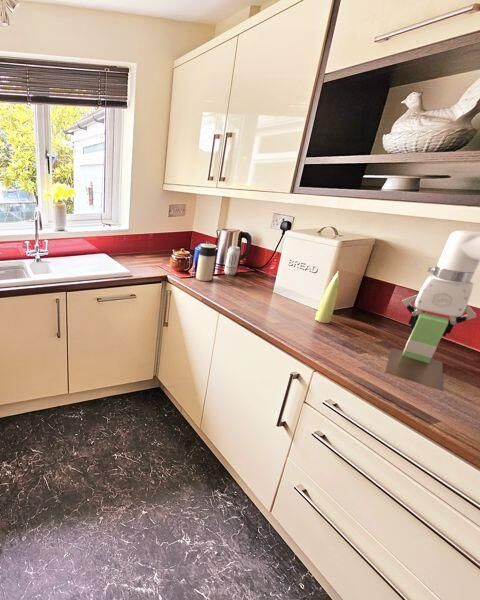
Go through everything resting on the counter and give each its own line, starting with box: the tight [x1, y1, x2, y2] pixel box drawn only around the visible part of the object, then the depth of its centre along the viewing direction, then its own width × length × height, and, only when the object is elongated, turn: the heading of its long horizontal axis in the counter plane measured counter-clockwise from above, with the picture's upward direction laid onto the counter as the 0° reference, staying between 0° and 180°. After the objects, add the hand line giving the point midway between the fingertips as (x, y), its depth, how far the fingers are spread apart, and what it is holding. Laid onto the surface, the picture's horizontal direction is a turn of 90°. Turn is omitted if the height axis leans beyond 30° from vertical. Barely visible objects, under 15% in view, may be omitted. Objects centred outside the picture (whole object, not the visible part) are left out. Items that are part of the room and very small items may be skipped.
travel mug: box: [195, 243, 217, 282], centre depth 173 cm, size 8×8×18 cm
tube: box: [314, 271, 340, 324], centre depth 127 cm, size 6×5×20 cm
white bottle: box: [224, 245, 241, 276], centre depth 182 cm, size 6×6×15 cm
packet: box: [403, 311, 449, 363], centre depth 102 cm, size 6×14×4 cm
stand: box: [384, 347, 444, 392], centre depth 100 cm, size 12×20×1 cm, turn 135°
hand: (427, 330), depth 103 cm, fingers open, 6 cm apart
